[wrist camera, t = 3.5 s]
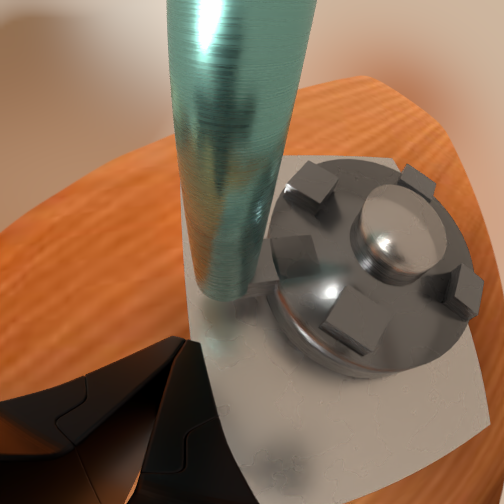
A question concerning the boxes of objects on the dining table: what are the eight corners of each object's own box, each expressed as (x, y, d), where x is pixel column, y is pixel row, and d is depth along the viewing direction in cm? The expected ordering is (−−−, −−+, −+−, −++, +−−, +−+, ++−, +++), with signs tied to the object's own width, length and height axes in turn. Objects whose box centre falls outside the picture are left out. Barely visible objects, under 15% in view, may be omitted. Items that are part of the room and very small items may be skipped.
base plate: (471, 426, 14) (491, 424, 12) (223, 516, 11) (224, 530, 9) (383, 174, 24) (392, 157, 22) (182, 181, 21) (180, 160, 19)
